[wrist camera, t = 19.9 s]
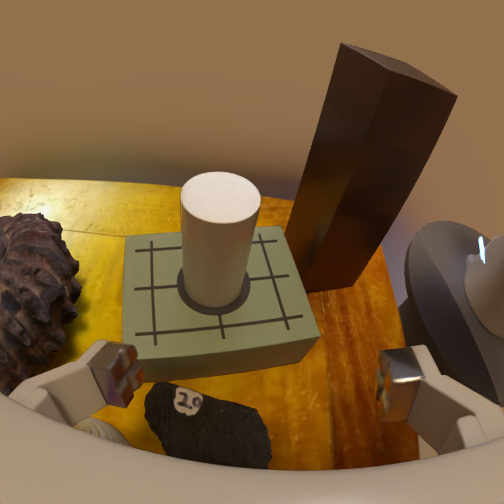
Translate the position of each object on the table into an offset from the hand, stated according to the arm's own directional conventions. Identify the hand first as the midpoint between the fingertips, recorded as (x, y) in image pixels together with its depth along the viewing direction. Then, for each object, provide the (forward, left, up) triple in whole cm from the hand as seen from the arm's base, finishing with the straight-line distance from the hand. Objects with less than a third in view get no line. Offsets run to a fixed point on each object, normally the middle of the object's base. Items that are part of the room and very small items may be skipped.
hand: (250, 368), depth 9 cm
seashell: (+20, -12, -17) cm, 29 cm away
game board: (-1, -11, -17) cm, 21 cm away
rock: (+1, +1, -18) cm, 18 cm away
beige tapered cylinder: (-1, -11, -11) cm, 16 cm away
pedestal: (-14, -16, -17) cm, 27 cm away
